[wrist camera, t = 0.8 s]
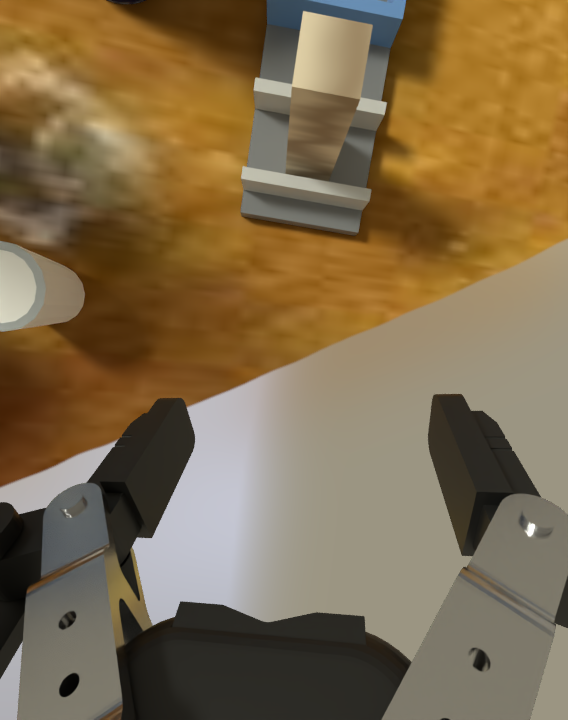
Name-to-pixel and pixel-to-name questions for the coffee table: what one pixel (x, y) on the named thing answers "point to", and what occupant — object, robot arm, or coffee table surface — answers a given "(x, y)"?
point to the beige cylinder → (35, 290)
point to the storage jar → (126, 1)
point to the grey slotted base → (272, 111)
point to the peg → (324, 92)
